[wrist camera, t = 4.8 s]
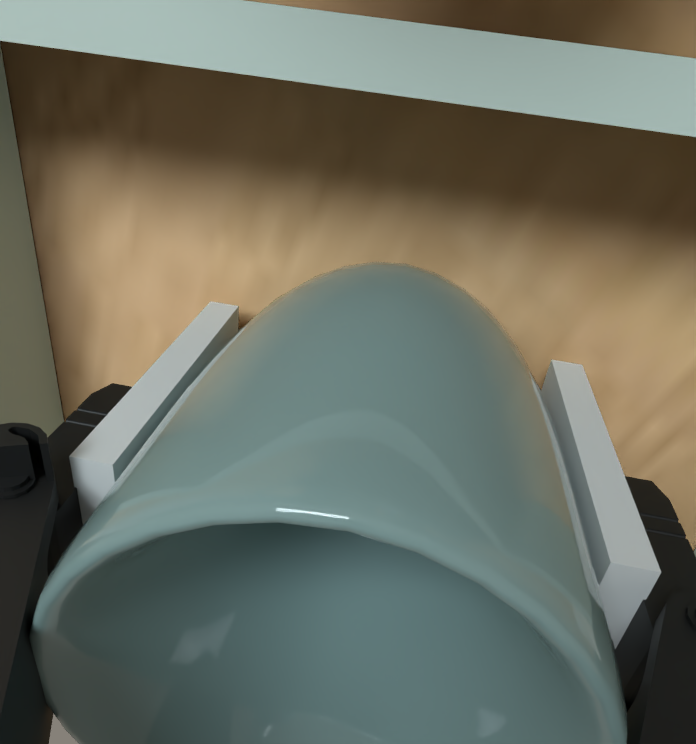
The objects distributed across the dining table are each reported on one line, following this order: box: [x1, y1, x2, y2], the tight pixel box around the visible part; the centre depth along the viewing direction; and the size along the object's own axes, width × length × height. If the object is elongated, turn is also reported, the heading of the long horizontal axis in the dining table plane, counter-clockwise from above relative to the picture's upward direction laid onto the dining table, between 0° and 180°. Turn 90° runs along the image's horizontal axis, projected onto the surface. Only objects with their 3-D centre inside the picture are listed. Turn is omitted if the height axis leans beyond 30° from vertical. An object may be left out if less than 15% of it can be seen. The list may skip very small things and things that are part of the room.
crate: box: [0, 0, 696, 557], centre depth 14 cm, size 16×22×4 cm
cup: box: [29, 262, 627, 744], centre depth 12 cm, size 8×8×10 cm
